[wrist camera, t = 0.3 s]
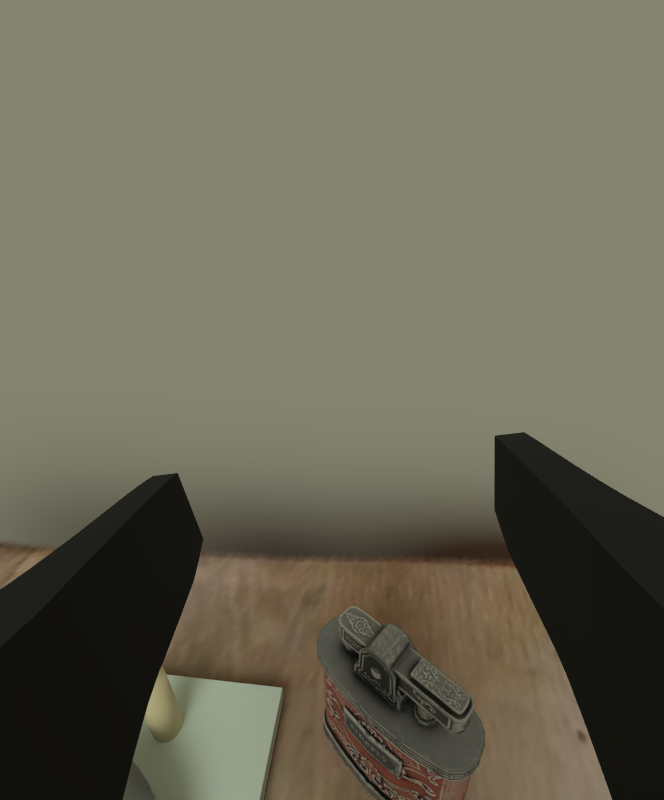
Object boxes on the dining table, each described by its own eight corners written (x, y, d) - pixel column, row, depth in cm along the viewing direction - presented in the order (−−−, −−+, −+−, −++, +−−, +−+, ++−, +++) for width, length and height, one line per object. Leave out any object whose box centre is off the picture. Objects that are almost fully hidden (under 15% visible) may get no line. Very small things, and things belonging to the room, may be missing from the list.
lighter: (309, 729, 24) (296, 616, 19) (349, 680, 26) (347, 567, 21) (439, 870, 19) (467, 768, 14) (475, 796, 21) (511, 685, 16)
